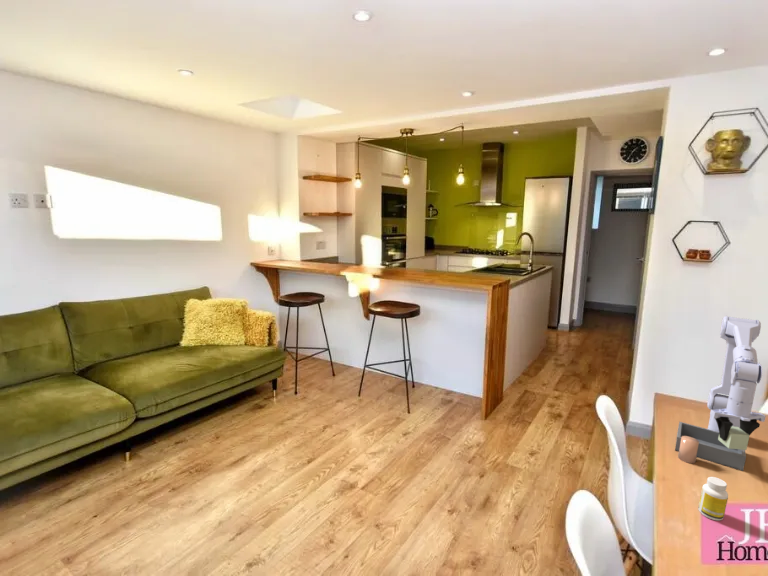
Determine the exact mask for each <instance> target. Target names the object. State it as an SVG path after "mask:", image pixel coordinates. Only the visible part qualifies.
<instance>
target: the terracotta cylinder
mask: <svg viewBox="0 0 768 576" xmlns="http://www.w3.org/2000/svg"><path fill="white" fill-rule="evenodd" d="M698 445H699V441H698V440H697V439H695V438H692V437H689V436H682V437H681V443H680V448H679V451H678V454H677V458H678V459H679V460H680V461H682V462H684V463H687V464H692V465H693V464H696V459H697V457H696V456H697V450H698Z"/></svg>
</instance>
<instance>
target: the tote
mask: <svg viewBox="0 0 768 576" xmlns="http://www.w3.org/2000/svg"><path fill="white" fill-rule="evenodd" d="M678 422H679V423H678V427H677V434H676V439H675V440H676V441H675V448H674V451H676V452H679V448H680V443H681V437H682V436H689V437H692V438H695V439H697V440H698V441H699V445H698V450H697V456H696V458H699V459H701V460H706V461H708V462H711V463H716V464H719V465H722V466H725V467H728V468H731V469H734V470H739V471H741V472H744V468H745V464H746V459H747V454H746V450H740V449H729V448H728V447H726V446H725V445H724V444H723V443H721V442H720V441H719V440H718V437H719V432H717V431H713V430H709V429H708V428H705V427H701V426H697V425H694V424H691V423H687V422H683V421H680V420H679V421H678Z"/></svg>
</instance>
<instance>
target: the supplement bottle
mask: <svg viewBox="0 0 768 576" xmlns="http://www.w3.org/2000/svg"><path fill="white" fill-rule="evenodd" d="M727 486H728V485H727V482H726V481H724V480H723V479H721V478H718V477H715V476H708V477H707V479H706V483H704V484H703V485H702V488H701V492H700V493H701V494H700V497H699V502H698V511H699V512H700V514H701V515H702V516H703V517H706V518H707V519H710V520H713V521H722V520H723V519H724V518H725V513H726V508H727V504H728V500H729V493H728V491H727Z"/></svg>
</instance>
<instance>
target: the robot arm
mask: <svg viewBox="0 0 768 576" xmlns="http://www.w3.org/2000/svg"><path fill="white" fill-rule="evenodd" d="M761 328H762V323H761V321H760V320H759V319H750V318H744V317H743V318H741V317H735V316H728V315H725V316H723V317H722V320H721V327H720V331H719V335H720V338H721V339H723V340H724V341H725V342H726V343H725V344H726V347H725V348H726V349H725V355H724V361H723V369H722V375H721V376H722V377H721V381H720V384H719V385H715V386H713V387H711V389H710V390H709V394H708V396H707V402H706V403H707V408H708V410H710V412H709V420H708V426H707V429H709V430H713V431H717V432H719V435H720V438H721V439H723V440H724V441H726V440H727V438H728V434H729V431H730V428H731V427H732V426H733V427H739V428H740V429H742V430H743V431H744V432H746V433H747V434H748V435H752V433H753V432H754V431H755V430H757V429H759V428H760V425H761V424H760V423H759V422H762V423H764V422H765V421H766V415H765V414H763V413H761V412H756V411H752V409H753V403H754V400H755V394H756V389H757V385H758V384H760V383H761V381H762V376H763V366H762V364H760V362H758V355H757V354H758V353H757V350H756V348H755V347H752V343H754V342H755V340H757V338H758V337H759V336H760V333H761ZM758 421H759V422H758Z"/></svg>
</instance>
